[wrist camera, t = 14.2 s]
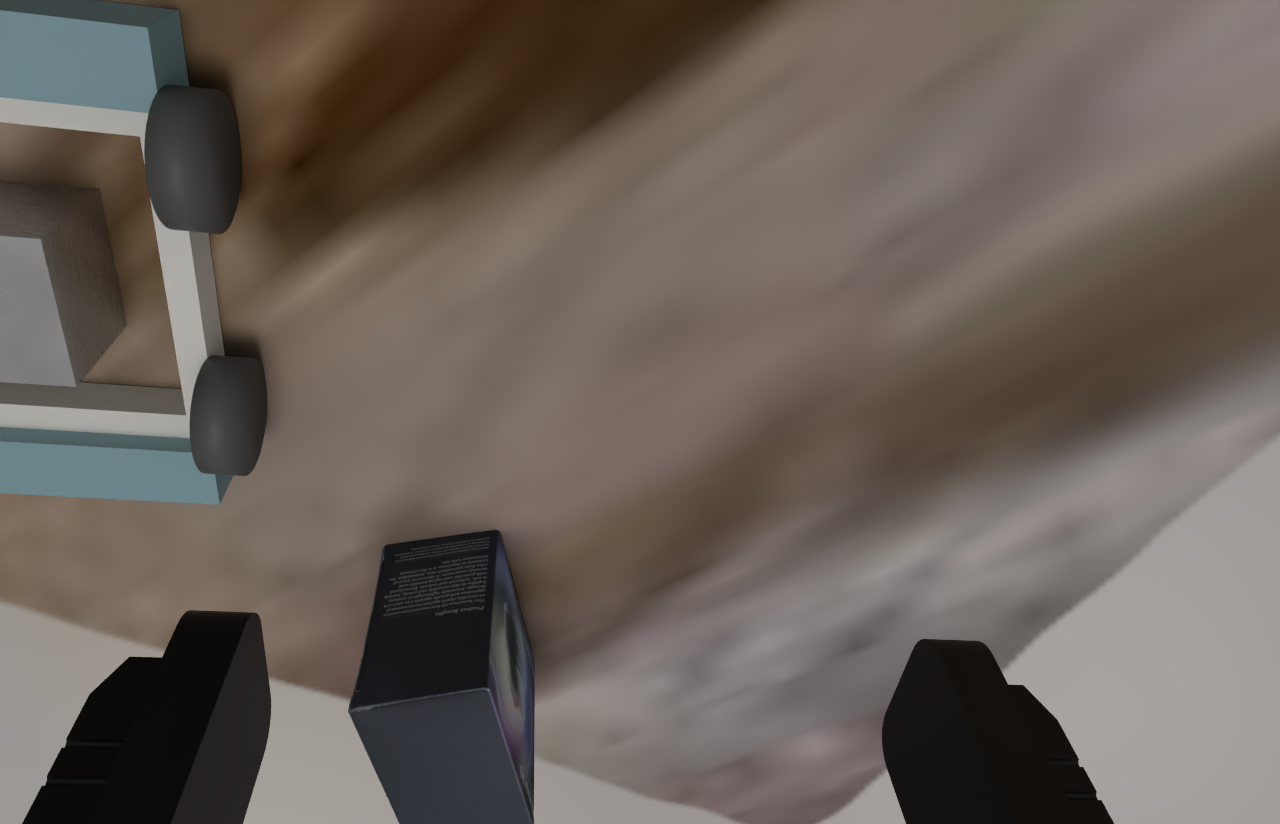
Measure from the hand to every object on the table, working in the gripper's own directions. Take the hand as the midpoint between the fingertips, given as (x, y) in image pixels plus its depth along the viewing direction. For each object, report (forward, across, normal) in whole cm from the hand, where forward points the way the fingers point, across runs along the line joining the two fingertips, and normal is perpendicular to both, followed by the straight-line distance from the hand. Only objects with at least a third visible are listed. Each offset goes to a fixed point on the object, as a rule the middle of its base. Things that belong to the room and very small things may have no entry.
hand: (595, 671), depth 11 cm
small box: (+28, +3, +28) cm, 40 cm away
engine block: (+28, +20, +9) cm, 36 cm away
